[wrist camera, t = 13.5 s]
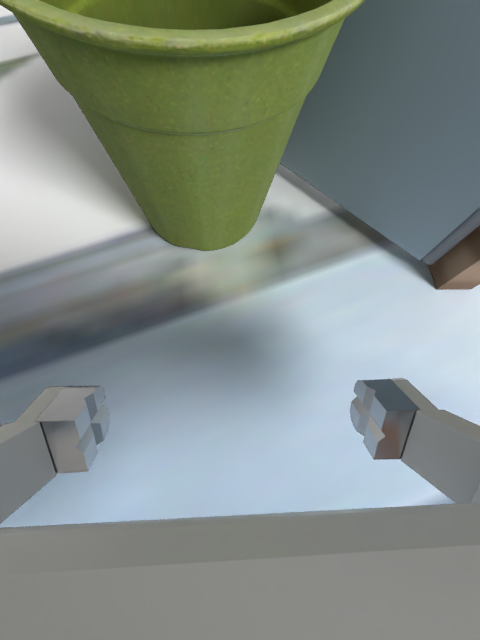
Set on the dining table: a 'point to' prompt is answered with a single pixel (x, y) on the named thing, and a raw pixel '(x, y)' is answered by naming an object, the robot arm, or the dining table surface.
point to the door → (399, 123)
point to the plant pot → (189, 96)
